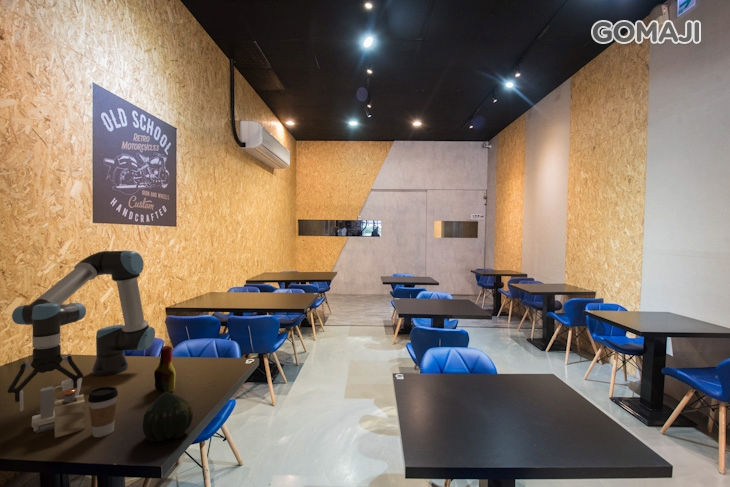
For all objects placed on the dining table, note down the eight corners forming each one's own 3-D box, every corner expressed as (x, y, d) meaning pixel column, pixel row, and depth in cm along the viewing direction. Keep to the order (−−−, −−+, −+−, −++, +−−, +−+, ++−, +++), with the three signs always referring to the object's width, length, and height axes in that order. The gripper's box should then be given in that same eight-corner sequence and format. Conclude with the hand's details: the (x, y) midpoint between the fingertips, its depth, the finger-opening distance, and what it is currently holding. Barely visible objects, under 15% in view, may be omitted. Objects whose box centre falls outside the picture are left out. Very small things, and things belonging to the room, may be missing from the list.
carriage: (61, 416, 131) (61, 382, 131) (61, 423, 126) (61, 388, 126) (32, 424, 126) (32, 388, 126) (31, 431, 120) (31, 395, 120)
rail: (57, 408, 138) (57, 405, 138) (58, 427, 124) (58, 423, 124) (37, 414, 134) (37, 410, 134) (35, 433, 120) (35, 429, 120)
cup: (84, 398, 147) (84, 379, 147) (53, 407, 140) (53, 387, 140) (80, 394, 152) (80, 376, 152) (50, 402, 144) (49, 383, 144)
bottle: (179, 390, 155) (179, 346, 155) (165, 395, 149) (165, 350, 149) (165, 385, 161) (165, 342, 161) (151, 390, 156) (150, 346, 156)
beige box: (83, 420, 128) (83, 394, 128) (84, 429, 122) (84, 401, 123) (54, 428, 123) (54, 400, 123) (54, 437, 117) (54, 408, 117)
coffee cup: (98, 426, 124) (98, 385, 124) (123, 425, 125) (123, 384, 125) (81, 440, 116) (81, 395, 116) (108, 438, 116) (108, 394, 116)
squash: (176, 434, 109) (188, 386, 119) (127, 438, 108) (143, 389, 118) (192, 444, 119) (201, 399, 129) (147, 448, 118) (160, 403, 128)
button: (76, 405, 126) (76, 387, 126) (77, 409, 123) (77, 390, 123) (62, 409, 123) (62, 390, 123) (62, 413, 120) (62, 394, 120)
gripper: (89, 337, 137) (90, 390, 137) (-2, 351, 120) (-1, 411, 120) (91, 341, 131) (91, 396, 132) (-5, 356, 115) (-4, 419, 115)
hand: (47, 403), depth 126 cm, fingers open, 13 cm apart
